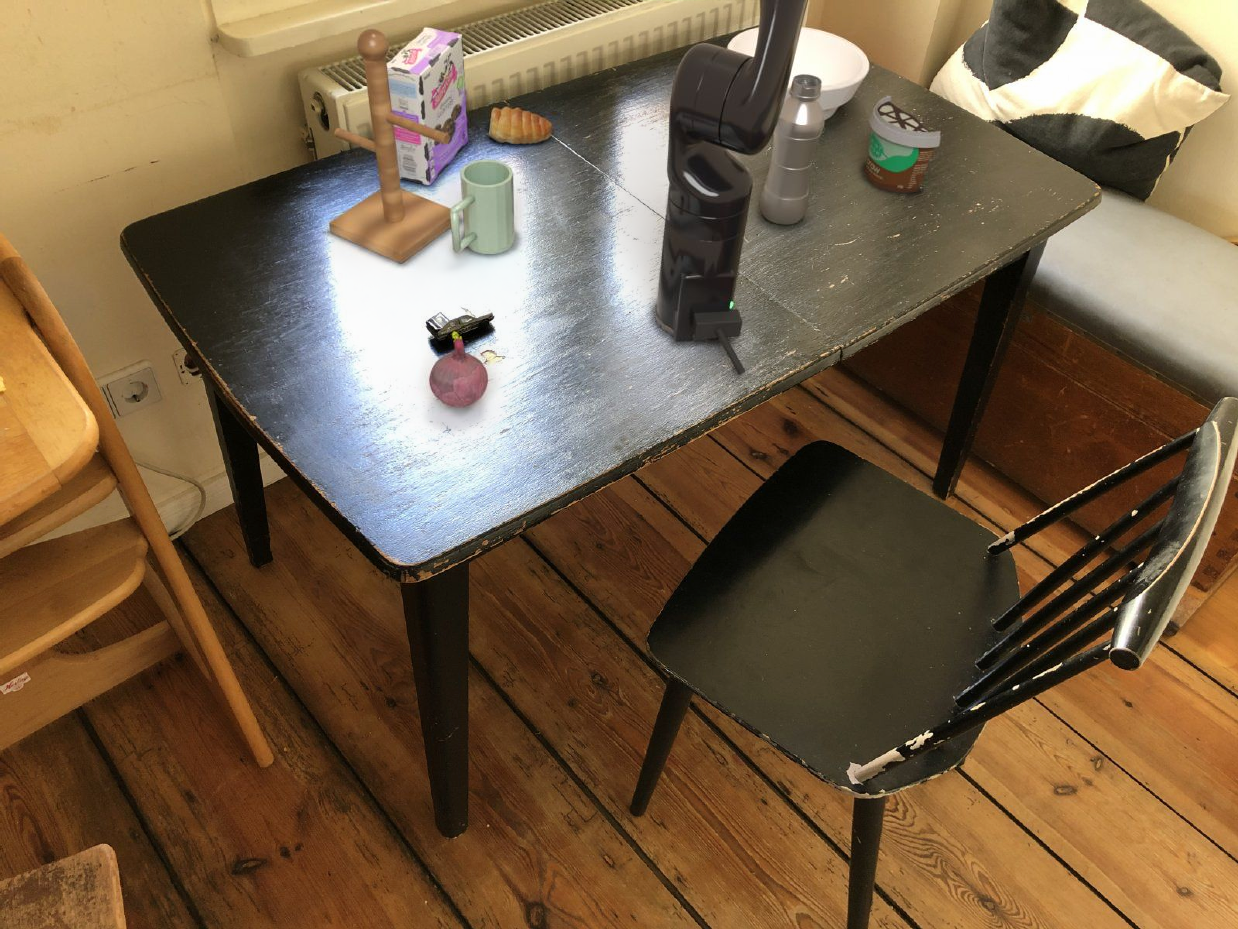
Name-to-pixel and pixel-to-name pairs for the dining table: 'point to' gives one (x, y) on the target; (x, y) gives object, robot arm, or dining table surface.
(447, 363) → the vegetable
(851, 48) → the bowl
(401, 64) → the candy box
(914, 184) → the food container
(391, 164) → the mug tree
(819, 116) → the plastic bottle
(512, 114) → the pastry
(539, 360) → the dining table surface
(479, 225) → the mug
